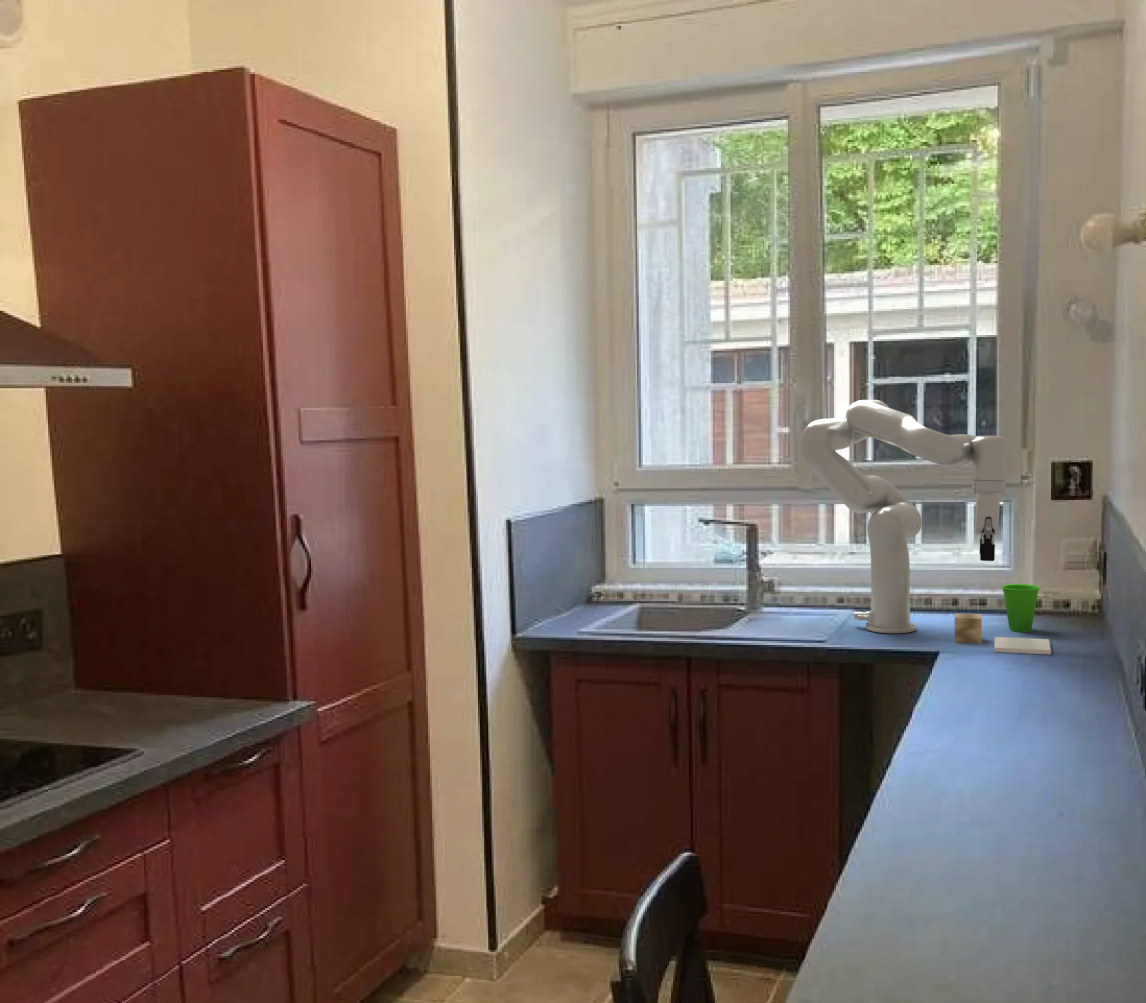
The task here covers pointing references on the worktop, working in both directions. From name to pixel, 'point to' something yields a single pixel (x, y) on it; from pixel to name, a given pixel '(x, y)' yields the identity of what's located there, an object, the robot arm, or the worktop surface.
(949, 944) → the worktop surface
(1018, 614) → the cup
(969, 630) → the block
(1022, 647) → the panel
